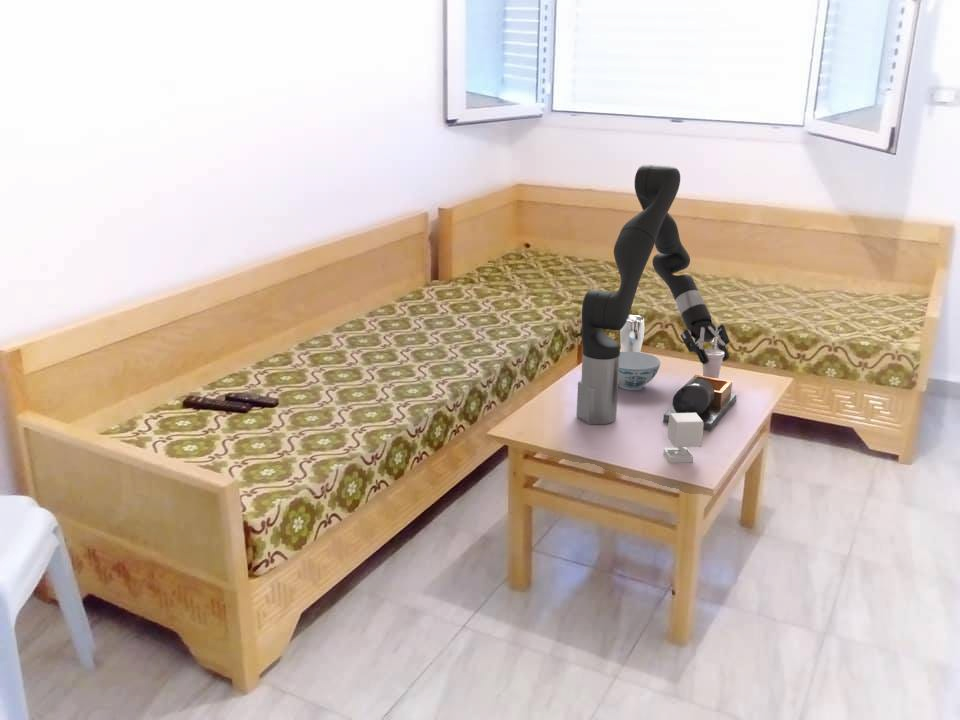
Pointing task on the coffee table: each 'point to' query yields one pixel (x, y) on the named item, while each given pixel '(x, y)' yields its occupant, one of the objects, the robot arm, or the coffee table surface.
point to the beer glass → (632, 334)
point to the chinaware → (636, 369)
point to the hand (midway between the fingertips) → (716, 361)
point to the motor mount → (703, 400)
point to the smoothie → (713, 361)
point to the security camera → (683, 436)
